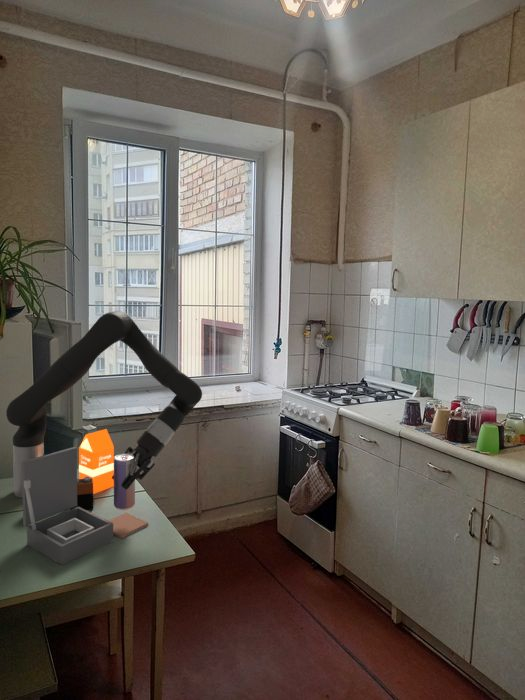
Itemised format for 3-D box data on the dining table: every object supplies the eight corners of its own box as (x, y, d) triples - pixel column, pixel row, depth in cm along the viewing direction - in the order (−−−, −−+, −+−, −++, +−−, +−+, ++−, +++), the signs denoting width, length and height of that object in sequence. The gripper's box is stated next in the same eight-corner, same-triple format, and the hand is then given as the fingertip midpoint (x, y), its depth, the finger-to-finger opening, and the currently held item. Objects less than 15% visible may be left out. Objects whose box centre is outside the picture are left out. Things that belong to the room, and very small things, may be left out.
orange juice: (78, 488, 174) (78, 432, 171) (100, 480, 181) (99, 426, 178) (93, 494, 169) (92, 437, 167) (114, 486, 177) (114, 431, 174)
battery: (93, 510, 158) (93, 479, 157) (70, 513, 156) (70, 482, 154) (92, 504, 162) (92, 474, 161) (70, 506, 160) (69, 476, 158)
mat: (99, 527, 148) (99, 524, 148) (126, 515, 156) (126, 512, 156) (121, 538, 142) (121, 535, 142) (148, 525, 150) (148, 522, 150)
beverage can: (115, 511, 144) (115, 461, 142) (112, 503, 150) (112, 454, 148) (136, 508, 147) (136, 459, 145) (133, 500, 152) (133, 452, 150)
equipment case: (23, 542, 138) (20, 461, 135) (75, 520, 151) (74, 446, 148) (61, 565, 128) (59, 479, 125) (113, 540, 141) (113, 461, 138)
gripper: (137, 424, 155) (100, 469, 149) (159, 436, 144) (120, 485, 139) (152, 438, 159) (117, 482, 154) (175, 451, 149) (138, 499, 143)
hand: (118, 483), depth 146 cm, fingers closed on beverage can, 6 cm apart
